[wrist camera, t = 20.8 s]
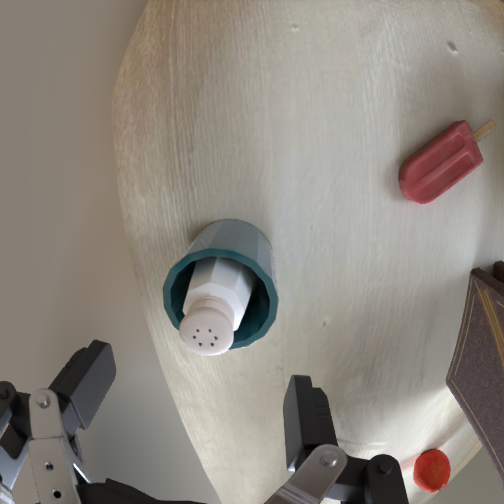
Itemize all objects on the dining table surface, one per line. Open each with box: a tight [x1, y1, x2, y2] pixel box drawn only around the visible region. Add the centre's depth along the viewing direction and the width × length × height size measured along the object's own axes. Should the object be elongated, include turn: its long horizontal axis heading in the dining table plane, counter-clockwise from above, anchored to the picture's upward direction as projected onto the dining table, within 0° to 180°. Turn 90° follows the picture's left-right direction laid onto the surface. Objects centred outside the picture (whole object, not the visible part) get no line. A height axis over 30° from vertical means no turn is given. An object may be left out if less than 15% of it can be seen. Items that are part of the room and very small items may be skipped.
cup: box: [163, 219, 278, 350], centre depth 21 cm, size 7×7×8 cm
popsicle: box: [398, 119, 495, 204], centre depth 20 cm, size 4×2×15 cm
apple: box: [413, 449, 451, 493], centre depth 33 cm, size 8×8×11 cm
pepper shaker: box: [179, 256, 257, 356], centre depth 19 cm, size 5×5×11 cm
